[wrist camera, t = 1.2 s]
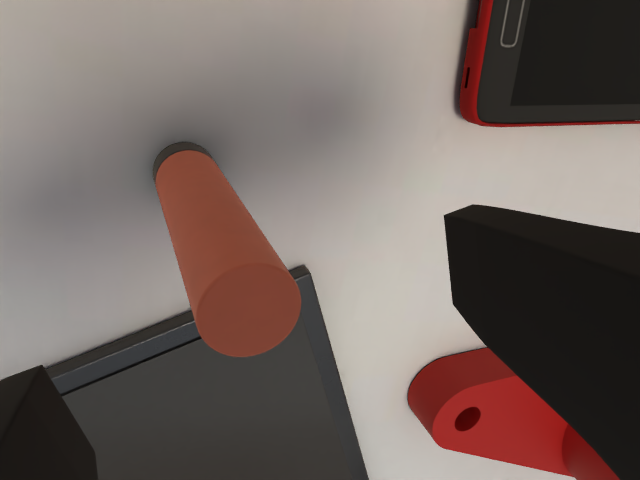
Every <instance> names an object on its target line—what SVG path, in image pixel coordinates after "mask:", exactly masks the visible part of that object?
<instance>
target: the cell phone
mask: <svg viewBox="0 0 640 480" xmlns="http://www.w3.org/2000/svg"><path fill="white" fill-rule="evenodd" d="M460 112H461V115H462V117H463V118H464V119H465V120H467V121H468V122H471V123H474V124H478V125H481V126H490V127H524V126H563V125H601V124H640V121H634V120H640V0H480V1H479V7H478V13H477V19H476V25H475V28H470V31H469V38H468V44H467V51H466V57H465V63H464V70H463V76H462V82H461V91H460Z"/></svg>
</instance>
